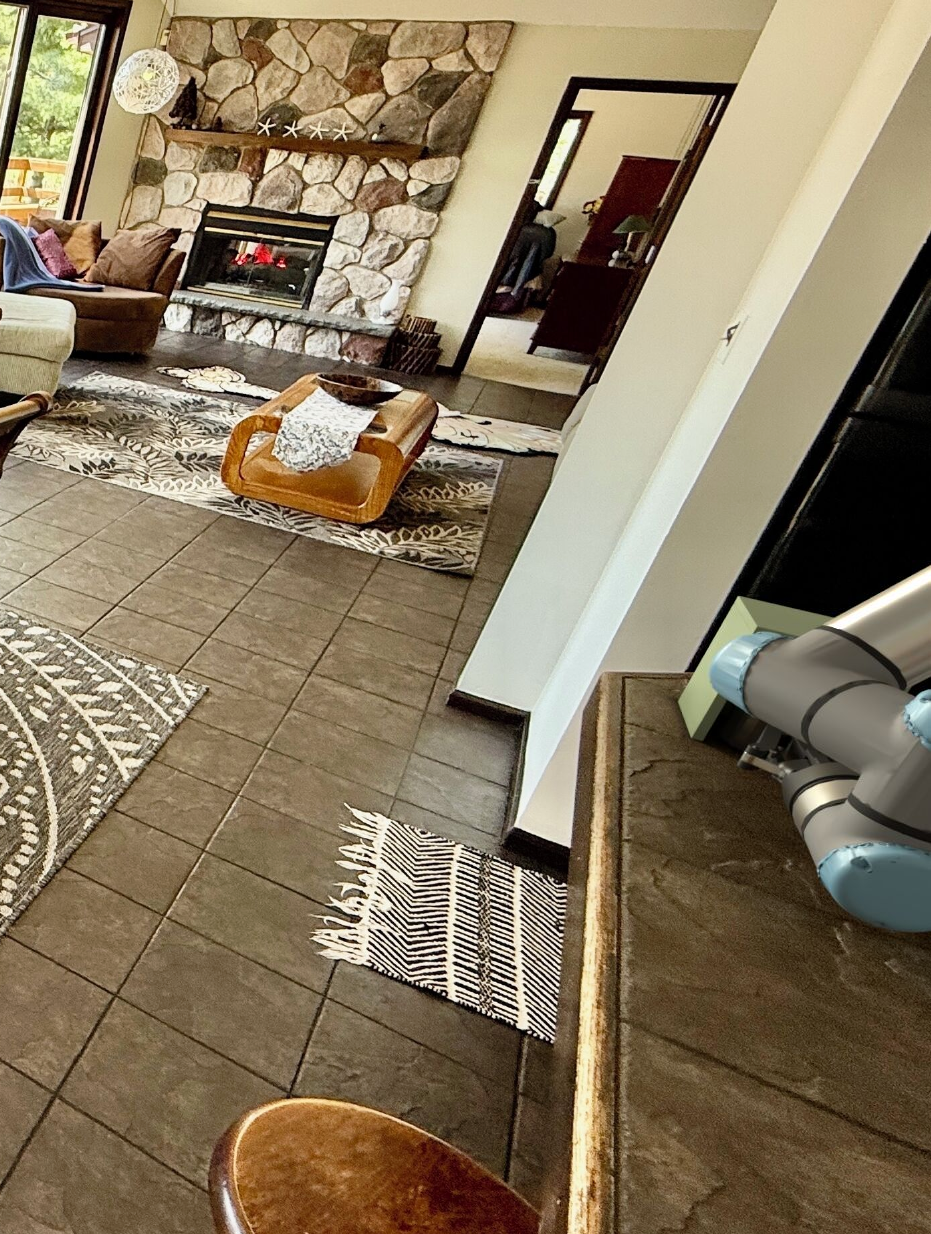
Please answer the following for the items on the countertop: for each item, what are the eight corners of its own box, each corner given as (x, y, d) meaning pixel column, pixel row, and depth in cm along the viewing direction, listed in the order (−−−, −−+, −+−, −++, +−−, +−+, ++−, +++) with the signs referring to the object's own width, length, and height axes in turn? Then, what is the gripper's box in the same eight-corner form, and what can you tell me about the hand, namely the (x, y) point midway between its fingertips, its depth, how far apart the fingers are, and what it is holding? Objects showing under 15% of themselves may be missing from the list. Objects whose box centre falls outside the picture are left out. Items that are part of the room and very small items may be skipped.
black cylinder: (795, 751, 116) (843, 676, 112) (810, 777, 111) (861, 700, 107) (710, 727, 120) (753, 654, 116) (720, 751, 115) (766, 675, 111)
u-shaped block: (819, 743, 118) (892, 631, 112) (844, 785, 109) (925, 666, 103) (676, 703, 125) (738, 595, 119) (689, 740, 116) (756, 626, 110)
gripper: (733, 816, 98) (697, 725, 115) (931, 879, 91) (860, 772, 108) (774, 752, 95) (730, 668, 112) (982, 812, 88) (901, 713, 105)
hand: (794, 719), depth 110 cm, fingers closed
